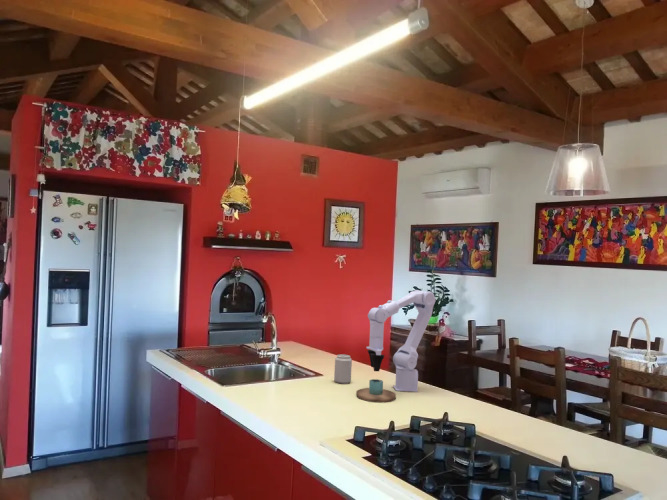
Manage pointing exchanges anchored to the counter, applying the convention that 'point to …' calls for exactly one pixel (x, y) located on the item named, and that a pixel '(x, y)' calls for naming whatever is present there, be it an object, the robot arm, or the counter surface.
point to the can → (343, 369)
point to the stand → (375, 396)
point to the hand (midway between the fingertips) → (375, 369)
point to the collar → (376, 387)
